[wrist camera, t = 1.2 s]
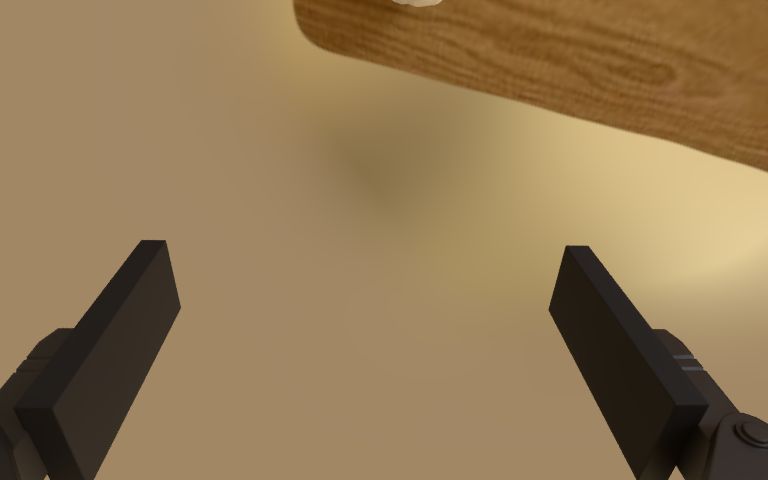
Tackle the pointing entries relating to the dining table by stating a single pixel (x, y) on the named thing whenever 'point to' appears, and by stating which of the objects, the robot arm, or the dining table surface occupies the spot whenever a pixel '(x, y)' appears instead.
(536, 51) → the dining table surface
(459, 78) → the dining table surface
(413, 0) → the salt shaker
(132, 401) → the robot arm
